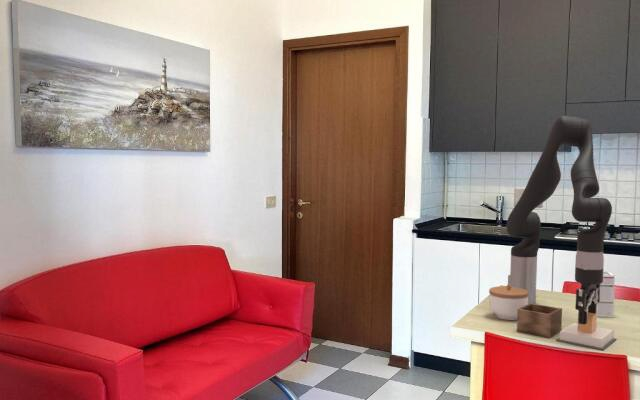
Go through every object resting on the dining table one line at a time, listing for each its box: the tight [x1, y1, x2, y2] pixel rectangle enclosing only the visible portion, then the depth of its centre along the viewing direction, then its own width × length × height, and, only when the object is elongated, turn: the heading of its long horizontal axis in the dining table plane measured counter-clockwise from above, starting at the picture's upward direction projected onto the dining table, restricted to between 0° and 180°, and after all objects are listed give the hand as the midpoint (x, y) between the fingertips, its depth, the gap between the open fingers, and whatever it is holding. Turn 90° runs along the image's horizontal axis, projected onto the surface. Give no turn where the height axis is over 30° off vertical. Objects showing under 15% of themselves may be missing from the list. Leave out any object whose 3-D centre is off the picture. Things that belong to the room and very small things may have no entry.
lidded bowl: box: [488, 283, 529, 321], centre depth 203 cm, size 13×13×11 cm
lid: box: [559, 311, 614, 348], centre depth 178 cm, size 12×12×8 cm
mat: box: [555, 337, 617, 351], centre depth 178 cm, size 13×13×1 cm
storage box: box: [516, 303, 563, 339], centre depth 187 cm, size 10×10×7 cm
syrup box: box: [596, 271, 616, 318], centre depth 206 cm, size 6×6×14 cm
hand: (587, 320), depth 178 cm, fingers open, 8 cm apart
